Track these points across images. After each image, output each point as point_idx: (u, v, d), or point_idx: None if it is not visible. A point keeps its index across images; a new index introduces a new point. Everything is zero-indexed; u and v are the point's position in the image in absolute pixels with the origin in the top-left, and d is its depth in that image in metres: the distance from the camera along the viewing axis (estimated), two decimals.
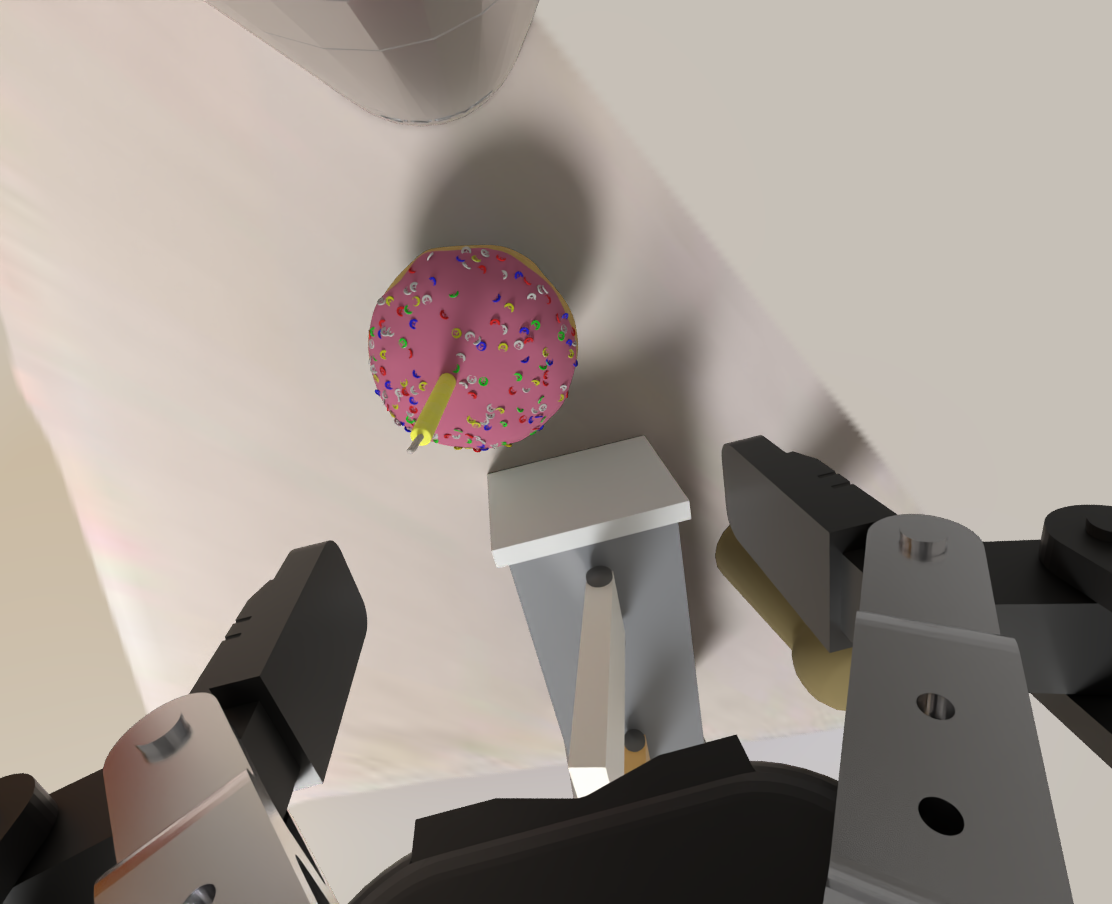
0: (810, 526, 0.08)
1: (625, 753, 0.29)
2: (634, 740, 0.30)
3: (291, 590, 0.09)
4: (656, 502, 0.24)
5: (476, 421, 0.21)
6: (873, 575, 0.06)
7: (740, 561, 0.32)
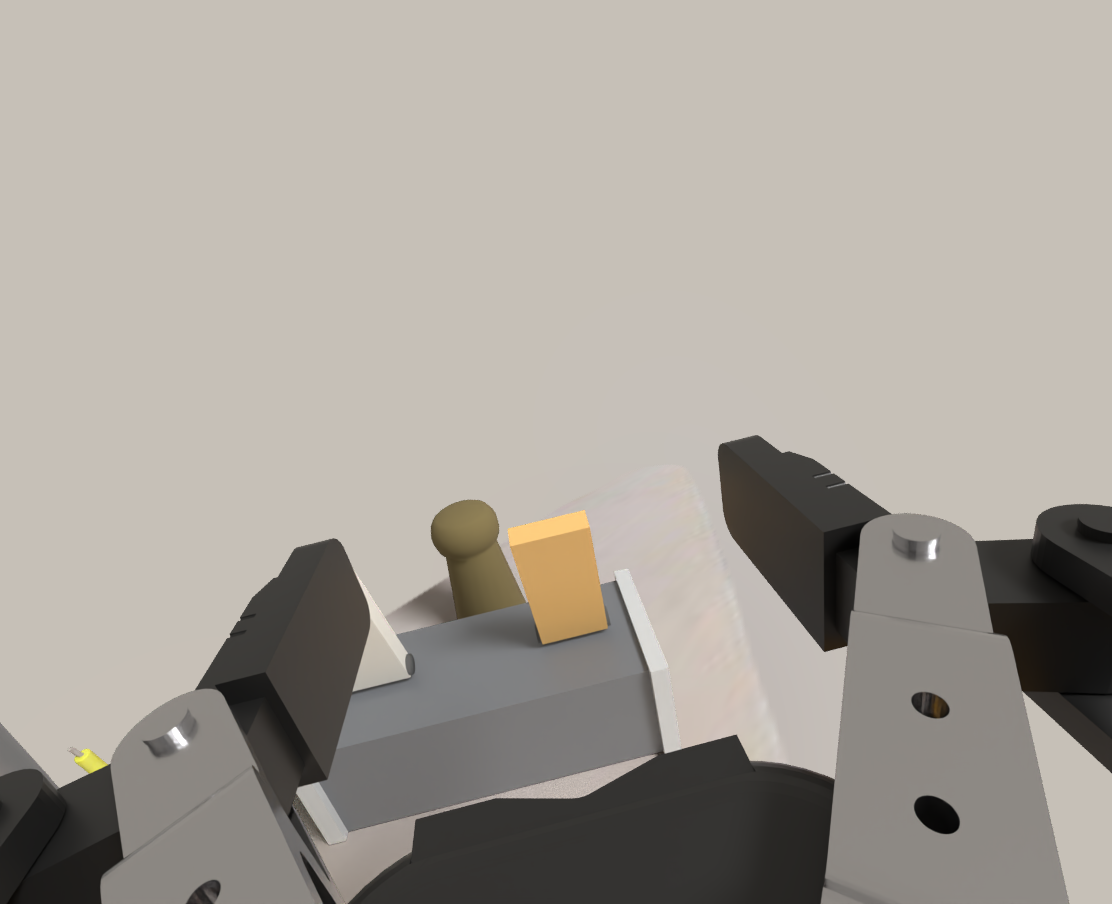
0: (805, 525, 0.08)
1: (538, 633, 0.31)
2: None
3: (295, 588, 0.09)
4: None
5: None
6: (867, 575, 0.06)
7: None
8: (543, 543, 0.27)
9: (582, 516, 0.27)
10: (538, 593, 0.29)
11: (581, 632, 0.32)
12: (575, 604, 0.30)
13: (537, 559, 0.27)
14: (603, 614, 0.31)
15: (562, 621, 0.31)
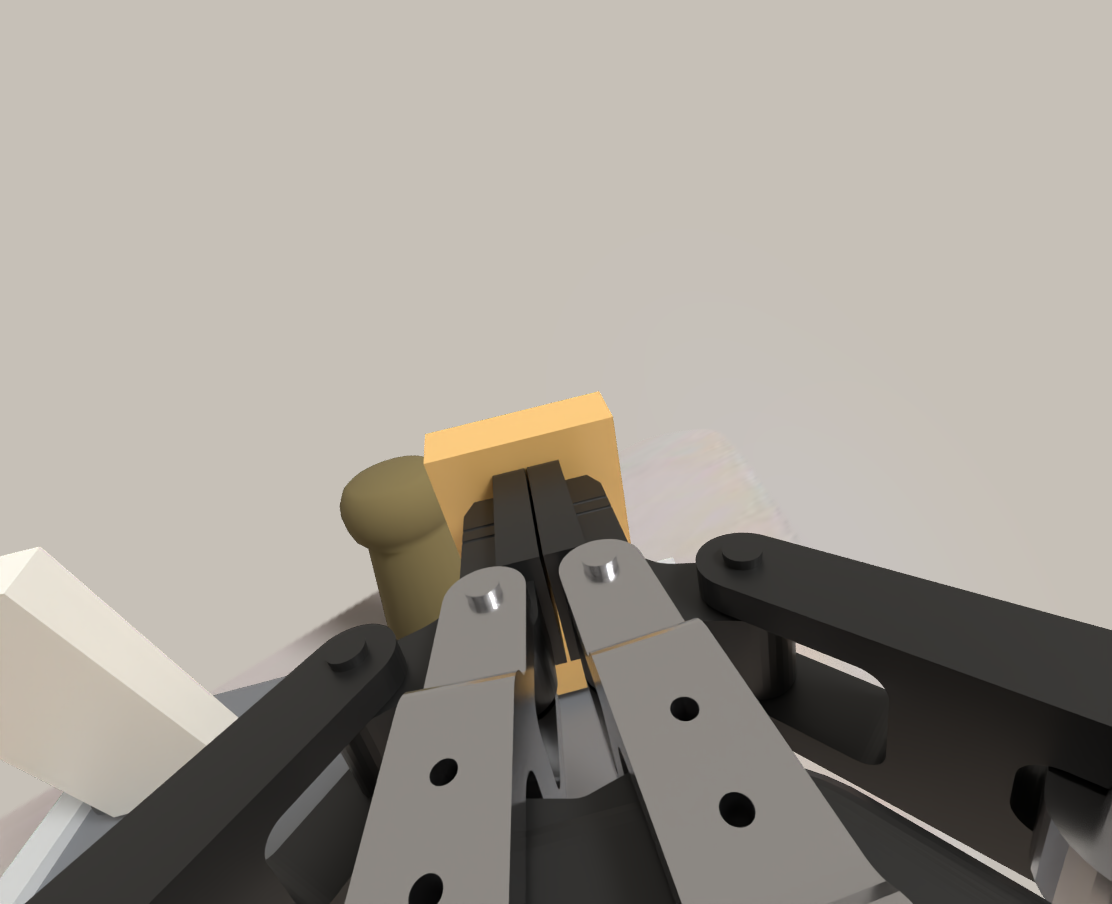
0: None
1: None
2: None
3: (518, 501, 0.10)
4: None
5: None
6: (581, 611, 0.07)
7: None
8: (503, 458, 0.11)
9: (594, 401, 0.12)
10: None
11: None
12: None
13: None
14: None
15: None
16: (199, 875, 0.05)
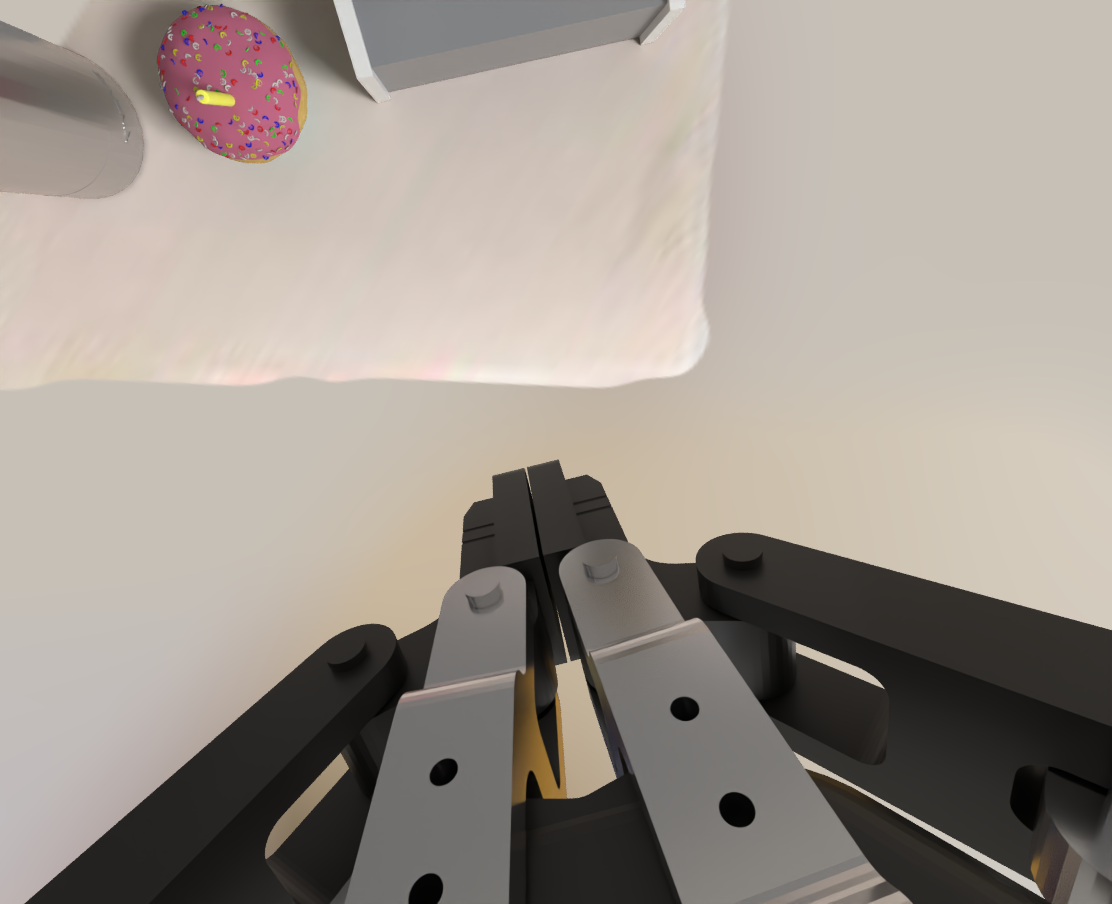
0: None
1: None
2: None
3: (518, 501, 0.10)
4: None
5: (255, 81, 0.33)
6: (581, 611, 0.07)
7: None
8: None
9: None
10: None
11: None
12: None
13: None
14: None
15: None
16: (199, 875, 0.05)
